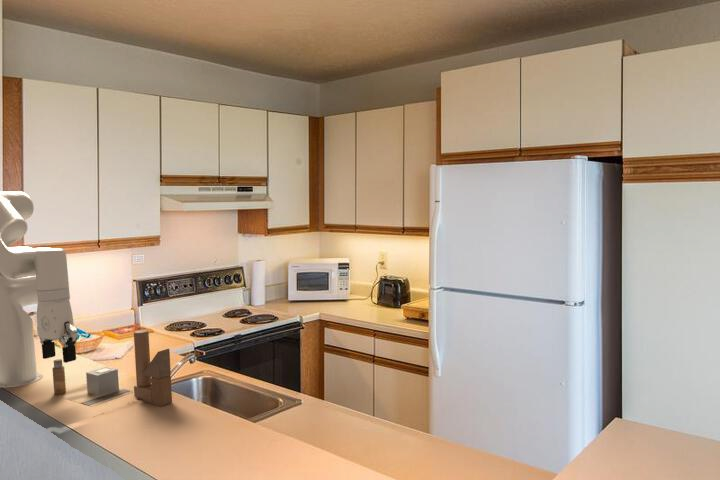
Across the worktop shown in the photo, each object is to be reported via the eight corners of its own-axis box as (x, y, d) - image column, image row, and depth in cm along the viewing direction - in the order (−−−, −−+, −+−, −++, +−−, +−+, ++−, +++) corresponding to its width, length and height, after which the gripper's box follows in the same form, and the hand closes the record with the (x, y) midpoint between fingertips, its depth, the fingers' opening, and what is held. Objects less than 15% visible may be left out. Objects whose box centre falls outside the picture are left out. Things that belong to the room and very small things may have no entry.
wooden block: (161, 407, 145) (157, 336, 144) (134, 399, 151) (129, 332, 150) (173, 402, 148) (169, 333, 147) (145, 395, 154) (142, 329, 153)
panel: (52, 398, 154) (51, 393, 154) (93, 384, 164) (93, 380, 164) (92, 410, 144) (91, 406, 144) (133, 395, 154) (133, 391, 154)
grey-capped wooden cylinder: (52, 393, 154) (49, 360, 153) (62, 390, 156) (59, 358, 156) (57, 395, 153) (55, 362, 152) (68, 392, 155) (65, 359, 154)
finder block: (87, 392, 154) (86, 371, 154) (107, 386, 159) (106, 365, 159) (98, 396, 152) (97, 374, 151) (119, 389, 157) (117, 368, 156)
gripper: (21, 296, 154) (27, 359, 155) (58, 299, 144) (64, 366, 145) (49, 292, 160) (55, 352, 161) (86, 294, 151) (91, 359, 152)
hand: (59, 359), depth 153 cm, fingers open, 9 cm apart
